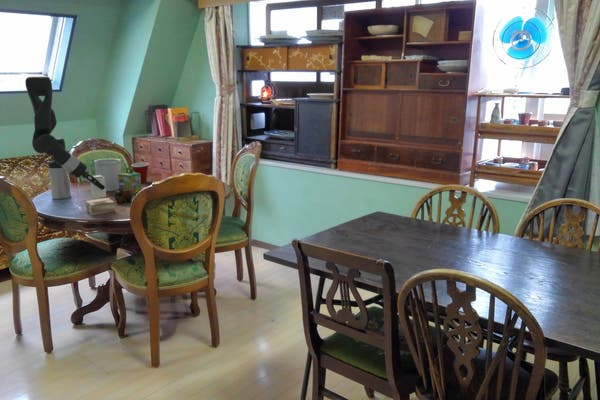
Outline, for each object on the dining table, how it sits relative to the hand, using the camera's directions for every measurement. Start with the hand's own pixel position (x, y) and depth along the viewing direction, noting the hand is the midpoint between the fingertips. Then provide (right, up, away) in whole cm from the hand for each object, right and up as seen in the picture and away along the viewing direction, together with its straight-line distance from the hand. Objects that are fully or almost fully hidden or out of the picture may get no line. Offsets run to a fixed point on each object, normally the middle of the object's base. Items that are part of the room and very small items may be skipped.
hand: (102, 187), depth 248 cm
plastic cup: (-3, +5, +72) cm, 73 cm away
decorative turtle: (+3, -7, +21) cm, 23 cm away
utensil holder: (-16, 0, +53) cm, 55 cm away
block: (-1, -12, +2) cm, 12 cm away
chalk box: (0, -2, +42) cm, 42 cm away
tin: (-1, -4, 0) cm, 5 cm away
